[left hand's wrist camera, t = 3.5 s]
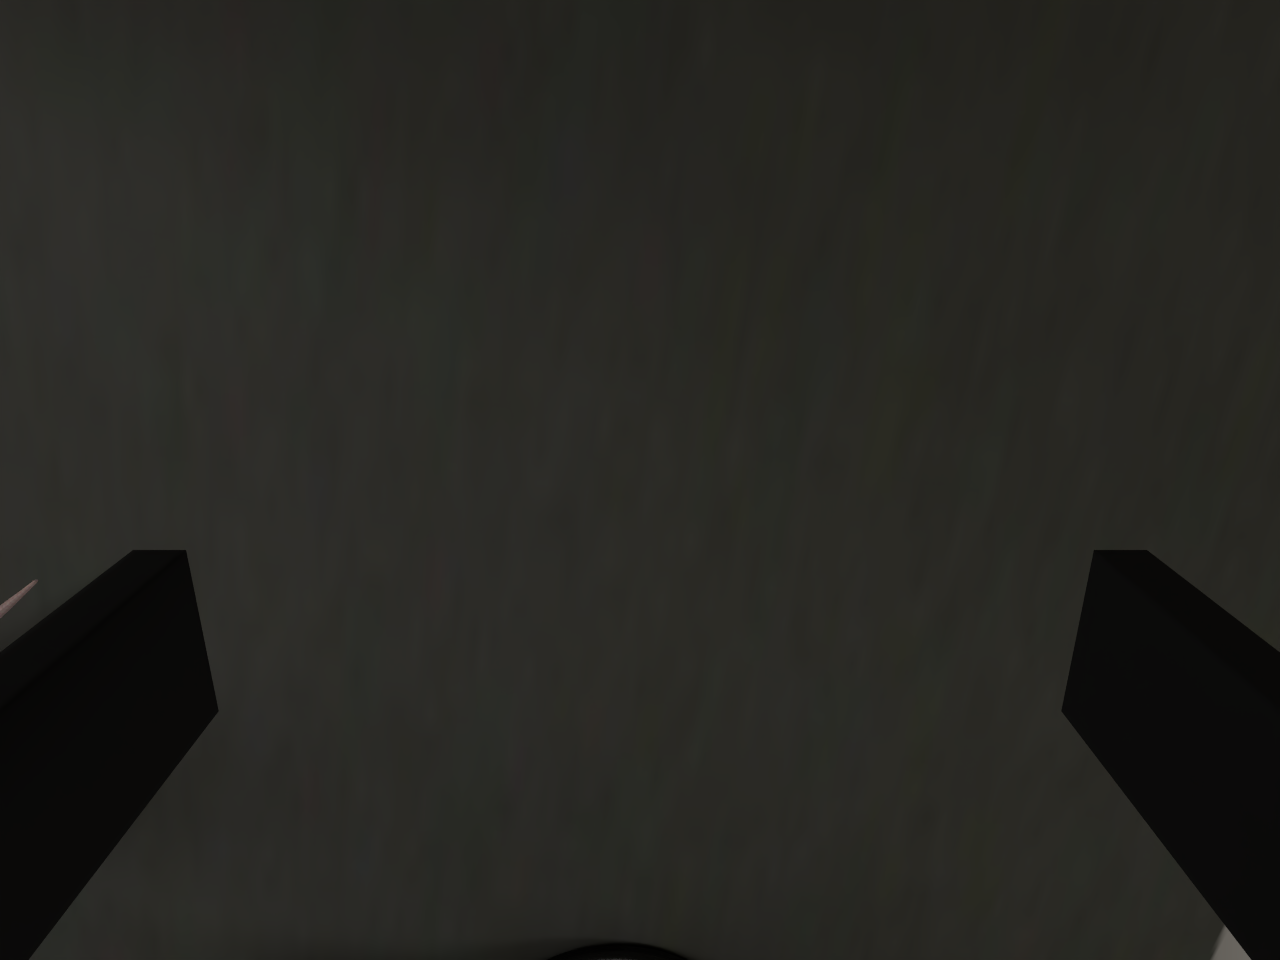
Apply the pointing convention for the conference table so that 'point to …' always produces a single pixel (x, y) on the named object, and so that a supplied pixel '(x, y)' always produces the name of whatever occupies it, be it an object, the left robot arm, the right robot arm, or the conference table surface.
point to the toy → (15, 599)
